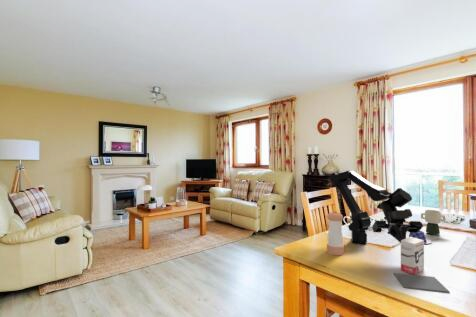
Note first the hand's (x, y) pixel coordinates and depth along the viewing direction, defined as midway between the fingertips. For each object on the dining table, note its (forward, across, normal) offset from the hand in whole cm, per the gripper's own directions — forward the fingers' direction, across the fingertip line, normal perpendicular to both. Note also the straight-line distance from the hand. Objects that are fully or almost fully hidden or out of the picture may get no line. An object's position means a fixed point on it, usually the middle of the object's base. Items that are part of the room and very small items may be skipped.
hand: (404, 245), depth 105 cm
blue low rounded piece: (-16, +23, +28) cm, 39 cm away
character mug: (-25, +38, +36) cm, 58 cm away
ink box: (+10, 0, +2) cm, 10 cm away
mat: (+17, -4, -6) cm, 18 cm away
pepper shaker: (-2, -25, +13) cm, 28 cm away
